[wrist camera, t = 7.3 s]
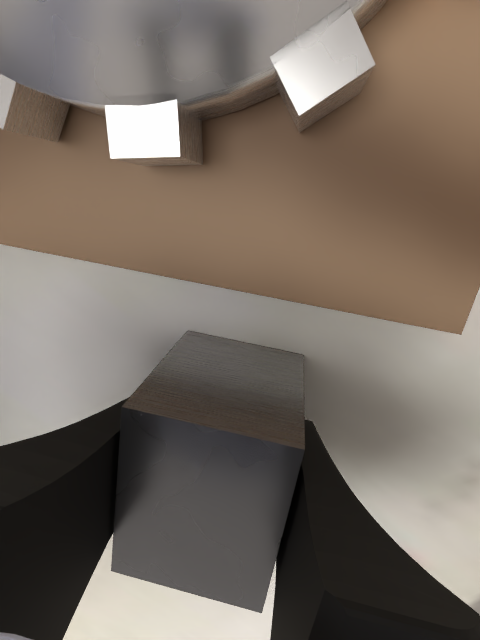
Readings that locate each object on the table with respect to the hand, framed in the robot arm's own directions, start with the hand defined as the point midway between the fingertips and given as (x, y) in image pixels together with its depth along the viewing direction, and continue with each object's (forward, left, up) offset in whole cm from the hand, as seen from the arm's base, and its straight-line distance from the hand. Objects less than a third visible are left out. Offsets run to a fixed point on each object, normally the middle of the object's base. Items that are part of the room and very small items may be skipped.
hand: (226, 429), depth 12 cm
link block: (0, 0, -1) cm, 1 cm away
